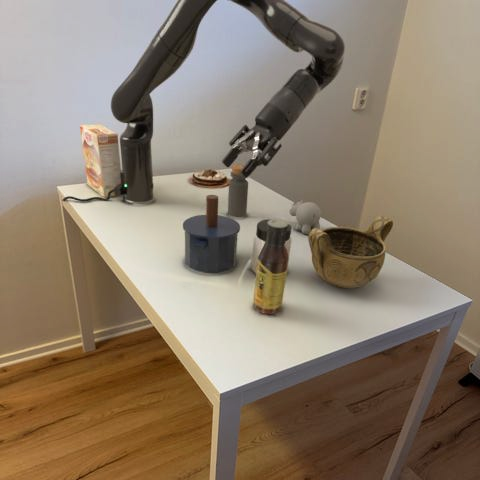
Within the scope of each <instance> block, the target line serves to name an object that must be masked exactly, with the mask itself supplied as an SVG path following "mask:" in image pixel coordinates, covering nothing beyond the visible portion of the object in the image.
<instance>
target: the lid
mask: <svg viewBox="0 0 480 480" xmlns="http://www.w3.org/2000/svg"><path fill="white" fill-rule="evenodd" d="M205 197H206V198H205V201H206V202H205V214H198V215H194V216H193V215H192V216H190V217H189V218H187V219H185V220H183V223H182V229H183V231H184V233H185V232H186V233H188V234H190V235H192V236H195V237H198V238H203V239H224V238H229V237H232V236H234V235H236V234H237V235H239V233H240V231H241V225H240V223H239V222H238V221H237V220H236V219H233V218H232V217H229V216H225V215H219V195H217V194H207V195H206V196H205Z"/></svg>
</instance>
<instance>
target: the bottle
mask: <svg viewBox="0 0 480 480" xmlns="http://www.w3.org/2000/svg"><path fill="white" fill-rule="evenodd" d="M244 166H245V164H234V165H231V170H232V171H231V172H230V177H231V179H229V180H230V181H229V184H228V196H227V215H228V216H230V217H234V218H243V217H245V216H247V209H248V196H249V182H248V180H247V178H245V177H244V176H243V175H242V174H241V173H240V171H241V169H242V168H243V167H244Z"/></svg>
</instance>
